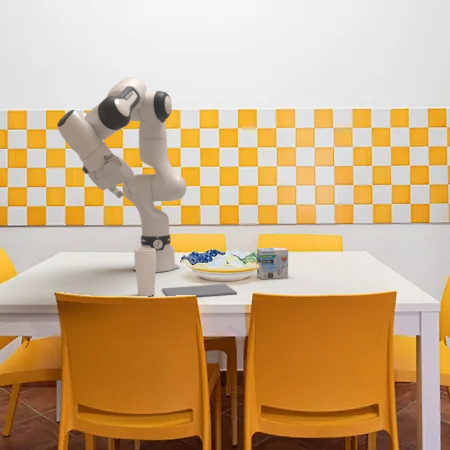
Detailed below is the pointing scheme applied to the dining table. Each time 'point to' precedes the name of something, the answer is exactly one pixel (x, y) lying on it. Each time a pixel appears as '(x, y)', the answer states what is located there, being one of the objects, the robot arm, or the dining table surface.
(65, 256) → the dining table surface
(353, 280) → the dining table surface
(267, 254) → the light bulb box
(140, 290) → the drinking glass
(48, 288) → the dining table surface
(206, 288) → the slate rubber mat
